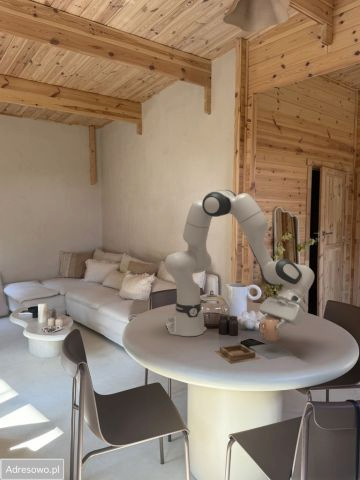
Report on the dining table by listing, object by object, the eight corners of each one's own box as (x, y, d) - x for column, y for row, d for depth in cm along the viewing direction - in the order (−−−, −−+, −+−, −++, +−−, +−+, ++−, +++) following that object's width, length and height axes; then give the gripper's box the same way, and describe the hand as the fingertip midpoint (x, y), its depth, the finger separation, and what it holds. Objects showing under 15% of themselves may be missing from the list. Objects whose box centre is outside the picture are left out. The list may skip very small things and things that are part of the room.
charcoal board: (248, 350, 152) (248, 346, 152) (272, 346, 156) (272, 343, 156) (268, 363, 139) (268, 359, 138) (294, 358, 143) (294, 354, 143)
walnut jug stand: (214, 355, 146) (214, 346, 146) (242, 350, 151) (242, 342, 151) (230, 367, 134) (230, 358, 134) (260, 362, 139) (260, 353, 139)
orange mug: (256, 337, 148) (256, 318, 147) (273, 335, 151) (273, 316, 150) (264, 342, 142) (264, 321, 142) (281, 339, 145) (281, 319, 145)
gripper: (266, 290, 158) (248, 315, 154) (303, 300, 140) (284, 328, 136) (274, 299, 161) (256, 324, 156) (311, 310, 143) (293, 338, 139)
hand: (270, 326), depth 146 cm, fingers closed on orange mug, 6 cm apart
